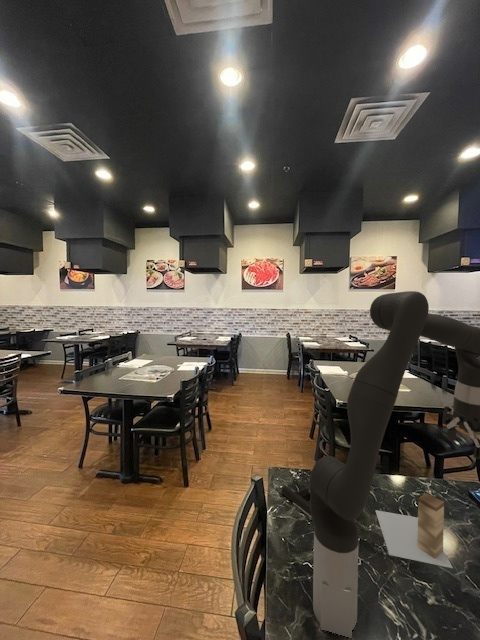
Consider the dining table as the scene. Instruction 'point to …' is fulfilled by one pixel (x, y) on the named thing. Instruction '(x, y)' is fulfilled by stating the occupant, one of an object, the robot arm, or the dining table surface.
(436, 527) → the birch block
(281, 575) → the dining table surface
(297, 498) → the door handle
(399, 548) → the rubber mat
